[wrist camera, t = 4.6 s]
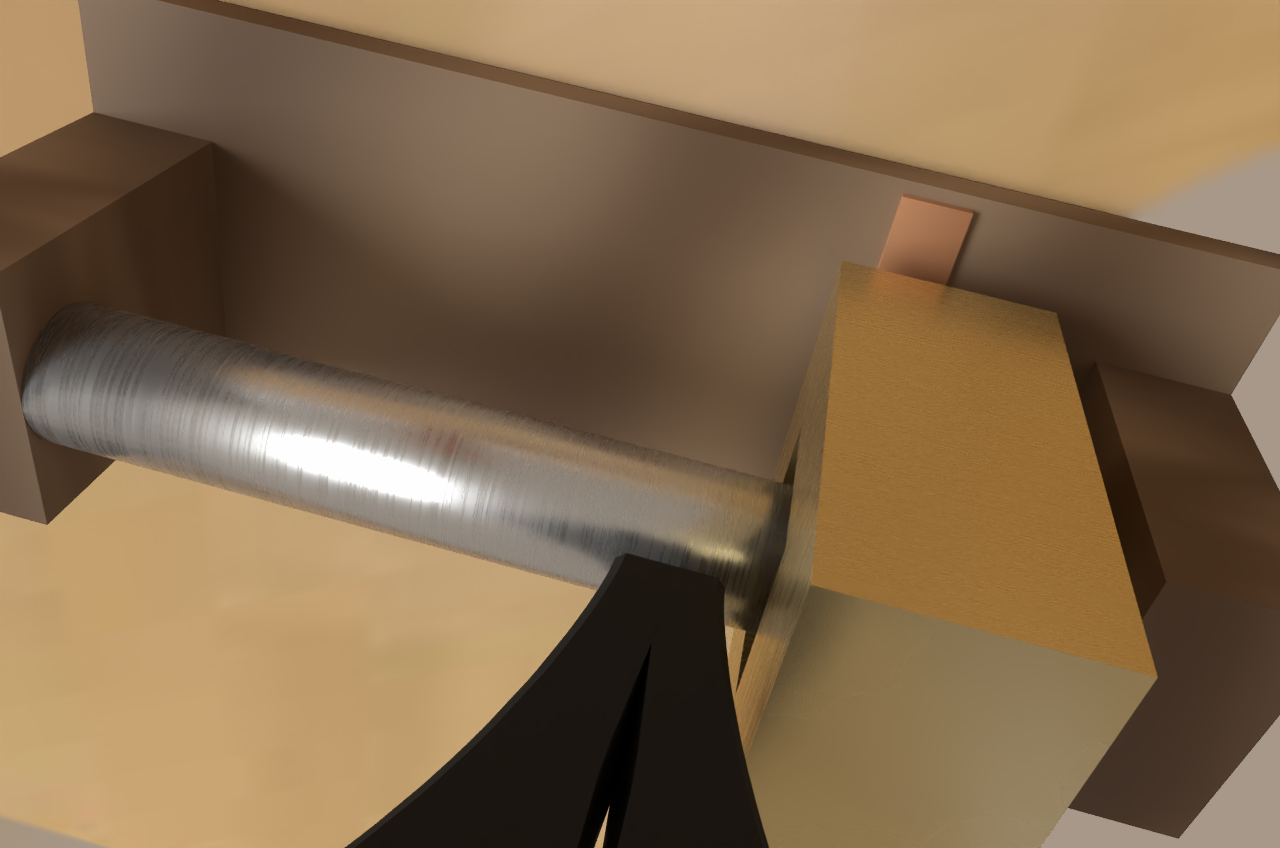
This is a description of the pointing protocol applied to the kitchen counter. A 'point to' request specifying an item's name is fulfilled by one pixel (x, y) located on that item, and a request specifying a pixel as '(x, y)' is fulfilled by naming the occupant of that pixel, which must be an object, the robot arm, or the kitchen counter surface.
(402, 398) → the pipe
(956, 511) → the brushed brass square block
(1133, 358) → the slider rail
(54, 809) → the kitchen counter surface
